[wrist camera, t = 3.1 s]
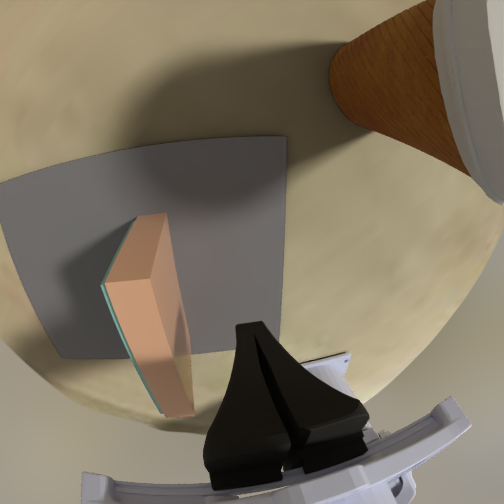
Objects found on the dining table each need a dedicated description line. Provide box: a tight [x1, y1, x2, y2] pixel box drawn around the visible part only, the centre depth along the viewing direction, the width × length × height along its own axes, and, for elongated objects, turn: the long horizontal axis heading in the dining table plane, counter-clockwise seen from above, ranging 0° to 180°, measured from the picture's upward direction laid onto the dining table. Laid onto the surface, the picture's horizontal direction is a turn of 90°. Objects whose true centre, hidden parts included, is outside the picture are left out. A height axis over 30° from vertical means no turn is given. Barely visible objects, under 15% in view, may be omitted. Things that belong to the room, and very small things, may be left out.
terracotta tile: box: [101, 213, 195, 418], centre depth 14 cm, size 10×2×7 cm, turn 1°
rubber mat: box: [0, 136, 287, 359], centre depth 17 cm, size 16×20×1 cm
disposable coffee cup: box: [329, 0, 504, 206], centre depth 9 cm, size 10×10×12 cm
